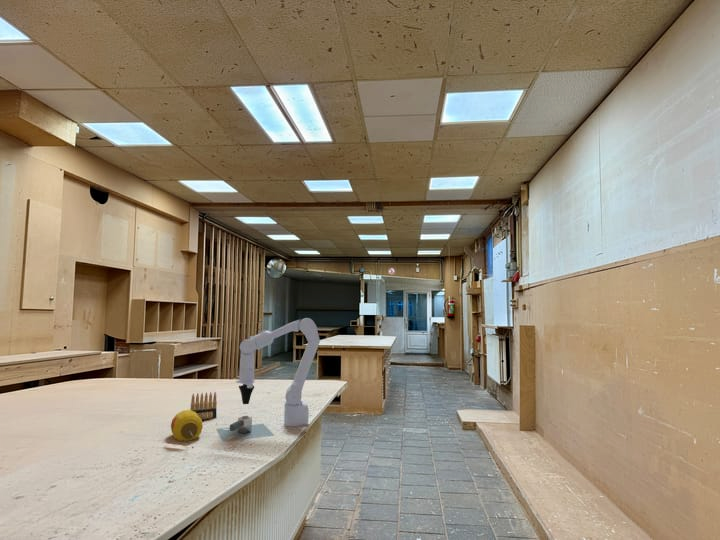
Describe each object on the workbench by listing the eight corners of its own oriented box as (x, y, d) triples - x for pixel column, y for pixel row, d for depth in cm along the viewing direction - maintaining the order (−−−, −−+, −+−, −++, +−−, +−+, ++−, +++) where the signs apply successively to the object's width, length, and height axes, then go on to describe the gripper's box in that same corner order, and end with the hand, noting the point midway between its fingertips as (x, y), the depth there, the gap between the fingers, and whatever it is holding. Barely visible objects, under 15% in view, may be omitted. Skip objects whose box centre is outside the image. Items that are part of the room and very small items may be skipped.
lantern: (172, 402, 157) (182, 419, 132) (198, 405, 162) (212, 422, 136) (164, 429, 155) (172, 451, 129) (190, 431, 160) (203, 453, 134)
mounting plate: (263, 426, 163) (263, 423, 163) (274, 438, 147) (274, 434, 147) (216, 432, 155) (216, 428, 156) (222, 445, 139) (222, 441, 139)
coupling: (241, 429, 154) (242, 414, 155) (253, 429, 153) (254, 415, 154) (224, 438, 142) (225, 422, 143) (237, 439, 141) (238, 423, 142)
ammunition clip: (189, 423, 168) (191, 393, 169) (189, 422, 169) (190, 393, 171) (216, 420, 173) (217, 391, 174) (215, 419, 174) (217, 391, 176)
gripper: (233, 367, 168) (232, 401, 167) (240, 371, 156) (238, 408, 154) (251, 366, 172) (249, 399, 170) (258, 370, 159) (257, 406, 157)
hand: (245, 403), depth 162 cm, fingers closed
